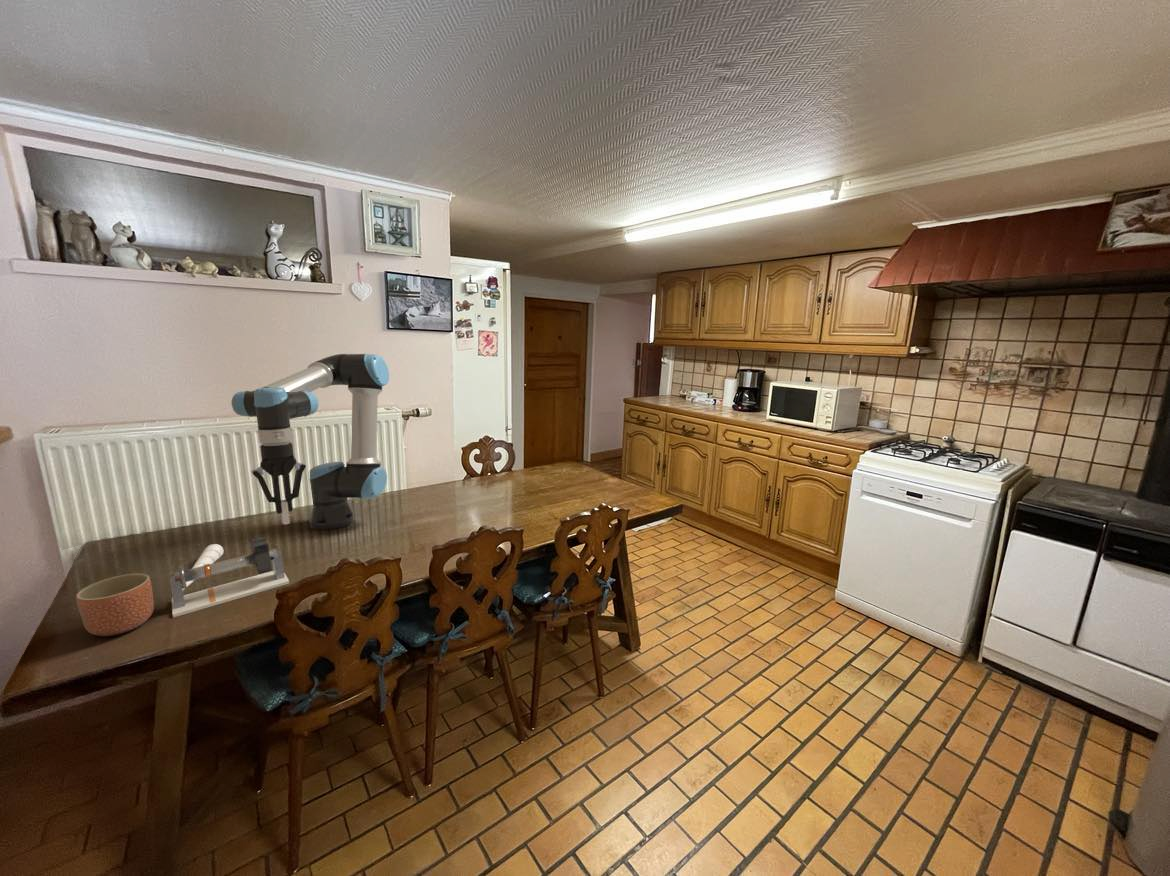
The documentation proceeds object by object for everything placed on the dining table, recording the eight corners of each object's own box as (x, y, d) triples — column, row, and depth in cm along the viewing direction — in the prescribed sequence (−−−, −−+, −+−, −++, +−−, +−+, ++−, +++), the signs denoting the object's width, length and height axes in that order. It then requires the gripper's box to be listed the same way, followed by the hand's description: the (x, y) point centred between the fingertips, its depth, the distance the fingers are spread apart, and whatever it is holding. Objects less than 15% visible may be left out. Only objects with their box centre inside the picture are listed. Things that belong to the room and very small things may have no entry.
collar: (255, 565, 132) (251, 539, 130) (267, 562, 134) (263, 536, 132) (259, 574, 127) (254, 547, 125) (271, 571, 129) (268, 543, 127)
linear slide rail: (174, 603, 120) (167, 565, 118) (281, 573, 136) (277, 539, 134) (175, 613, 116) (167, 573, 114) (285, 581, 132) (281, 545, 130)
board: (172, 601, 121) (171, 598, 121) (282, 570, 138) (282, 568, 138) (173, 617, 114) (172, 614, 114) (289, 583, 131) (289, 580, 131)
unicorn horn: (162, 596, 124) (159, 580, 123) (208, 557, 147) (206, 543, 146) (182, 594, 125) (180, 578, 125) (225, 556, 148) (223, 542, 147)
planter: (73, 636, 107) (63, 593, 105) (139, 608, 118) (131, 569, 116) (103, 648, 102) (93, 604, 100) (169, 618, 114) (161, 578, 112)
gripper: (249, 448, 121) (260, 532, 125) (306, 442, 129) (314, 520, 134) (245, 444, 126) (256, 524, 130) (300, 438, 135) (308, 514, 139)
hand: (285, 522), depth 132 cm, fingers closed
